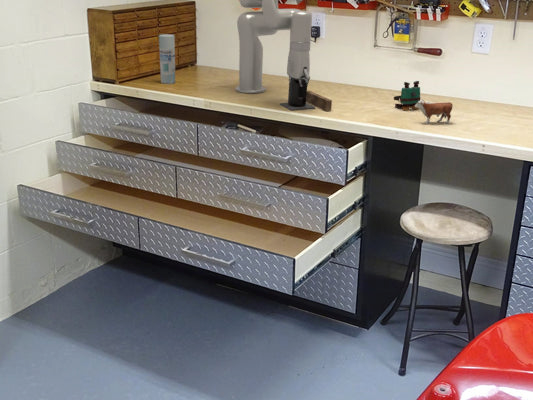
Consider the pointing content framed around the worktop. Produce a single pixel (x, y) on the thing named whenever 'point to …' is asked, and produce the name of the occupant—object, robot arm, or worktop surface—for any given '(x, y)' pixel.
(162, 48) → the spray paint can
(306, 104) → the pad
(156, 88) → the worktop surface
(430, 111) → the bull figurine
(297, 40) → the robot arm
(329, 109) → the walnut rail
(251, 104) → the worktop surface
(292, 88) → the supplement bottle
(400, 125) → the worktop surface
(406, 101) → the binoculars
